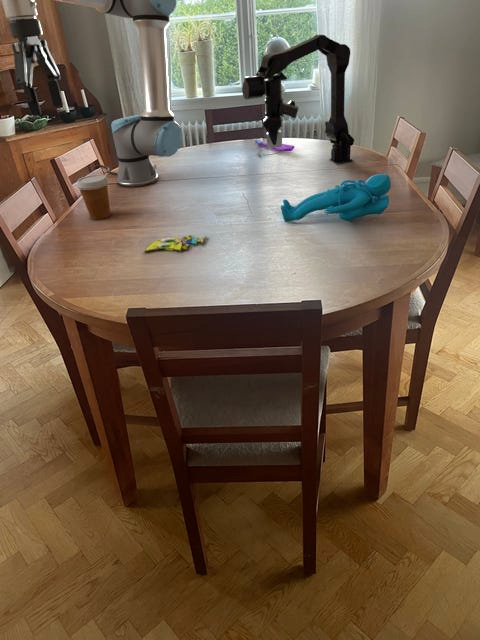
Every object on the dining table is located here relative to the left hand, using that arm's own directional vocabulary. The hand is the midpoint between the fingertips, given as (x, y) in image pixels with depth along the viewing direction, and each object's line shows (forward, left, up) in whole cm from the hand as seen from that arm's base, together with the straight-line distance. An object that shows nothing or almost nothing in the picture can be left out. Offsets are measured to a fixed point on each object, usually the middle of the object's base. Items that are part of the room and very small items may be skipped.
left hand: (48, 110), depth 131 cm
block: (-7, +74, -23) cm, 78 cm away
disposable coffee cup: (-4, +7, -33) cm, 34 cm away
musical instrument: (-40, +88, -33) cm, 102 cm away
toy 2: (+43, +64, -33) cm, 84 cm away
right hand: (-7, +74, -22) cm, 78 cm away
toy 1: (+33, +20, -33) cm, 51 cm away
